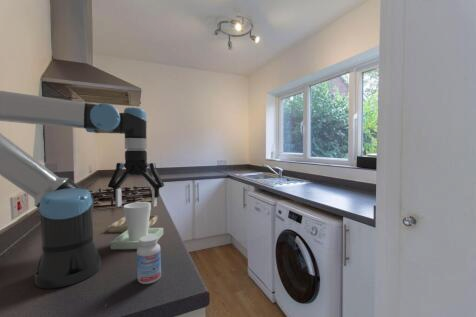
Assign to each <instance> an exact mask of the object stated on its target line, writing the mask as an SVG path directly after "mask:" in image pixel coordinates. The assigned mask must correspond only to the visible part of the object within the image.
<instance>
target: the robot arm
mask: <svg viewBox="0 0 476 317" xmlns="http://www.w3.org/2000/svg"><path fill="white" fill-rule="evenodd" d="M0 122H7V123H20V124H30V125H40V126H41V125H42V126H51V127H52V126H53V127H62V128H63V127H65V128H74V129H85V131H86V132H87V133H94V134H120V135H121V134H124V149H125V151H124V162H117V163H116V164H115V165H116V167H115V170H114V172H113V174H112V176H111V179H110V180H109V182H108V185H107V187H108V188H111V189H113V198H115V207H116V208H117V207H118V208H119V207H121V206H122V205H123V202H122V201H123V200H122V198H123V197H122V196H123V195H122V187H121V186H122V185H123V184H124V182H125V181H126V180H127V178H129V176H130V175H131V176H133V175H136V176H140V175H141V176H143V178H144V179H145V180H146V181H147V182H148V184H150V185H151V186H152V188H153V189H151V208H154V207H157V205H158V200H157V199H158V198H159V197H160V189H161V188H163V187H165V184H164V181H163V179H162V177H161V175H160V173H159V172H158V170H157V167H156V163H155V162H151V163H150V162H149V163H148V162H147V160H148V159H147V158H148V155H147V154H148V153H147V149H148V148H147V143H148V142H147V140H148V139H147V122H148V121H147V112H146V110H145V109H143V108H140V107H129V106H128V107H125V108H124V109H123V112H119V110H118V109H117V108H116V107H115V106H114V105H112V104H110V103H98V104H97V103H90V102H89V103H88V102H82V101H78V100H77V101H76V100H69V99H63V98H62V99H61V98H55V97H47V96H41V95H40V96H39V95H34V94H27V93H20V92H12V91H7V90H6V91H5V90H0ZM124 168H125V169H126V170H125V171H124V172H123V174H122V175H121V173H122V171H123V169H124ZM147 168H148V169H149V170H150V172H151V174H152V176H151V175H150V172H149V171H148V170H147ZM120 175H121V176H120ZM0 176H1V177H2V178H4V179H5V180H7V181H8V182H10V183H11V184H13V185H14V186H16V187H17V188H18V189H20V190H22V191H23V192H24V193H26V194H27V195H28V196H30V197H32V198H33V199H34V206H35V207H36V208H38V212H39V216H40V218H39V219H40V233H41V234H40V235H41V249H42V250H41V255H40V259H39V262H38V265H37V267H36V271H35V274H34V284H35V286H36V287H37V288H40V289H47V290H49V289H59V288H63V287H67V286H72V285H74V284H77V283H80V282H82V281H85V280H86V279H88V278H90V277H92V276H93V275H94V274H95V275H96V274H97V272H98V271H99V270H101V267H102V258H101V255H100V253H99V251H98V249H97V246H96V244H95V242H94V228H93V226H94V225H93V209H94V207H95V206H94V205H95V200H94V197H93V195H92V193H91V192H90V191H89V190H88V189H86V188H85V187H82V186H80V185H78V184H77V183H75V182H74V181H73V180H72V179H70V178H69V177H60V176H58V175H57V174H55V173H54V172H52V171H51V170H50V169H48V168H47V167H45V165H43V164H42V163H40V162H39V161H38V160H37V159H35V158H34V157H33V156H31V155H30V154H29V153H27V152H26V151H25V150H24V149H22V148H21V147H19V146H18V145H17V144H15V143H14V142H13V141H11V140H10V139H9V138H7V137H6V136H5V135H4V134H2V133H1V132H0ZM120 187H121V188H120Z"/></svg>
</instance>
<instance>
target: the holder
mask: <svg viewBox="0 0 476 317" xmlns="http://www.w3.org/2000/svg"><path fill="white" fill-rule="evenodd" d="M158 221H159V215H158V214H156V215H155V214H153V215H152V214H150V218H149V228H152V226H153V225H154V224H155V223H156V222H158ZM125 223H126V219H125V216H123V217H121V218H120V219H118V220H117V221H115V222H112V224H110V225H108V226H107V232H108V233H124V232H125V231H126V230H127V225H123V224H125Z"/></svg>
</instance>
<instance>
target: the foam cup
mask: <svg viewBox="0 0 476 317" xmlns="http://www.w3.org/2000/svg"><path fill="white" fill-rule="evenodd" d="M151 210H152V202H149V201H137V202H130V203H126V204H124V205H123V213H124V217H125V219H126V222H125V223H126V224H125V225H126V226H127V230H128V235H129V240H130V241H139V239H140V238H141V237H143V236H146V235H148V228H149V218H150V215H151Z"/></svg>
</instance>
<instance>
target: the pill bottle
mask: <svg viewBox="0 0 476 317" xmlns="http://www.w3.org/2000/svg"><path fill="white" fill-rule="evenodd" d="M158 241H159V239H158V237H157V236H156V235H146V236H143V237H141V238H140V239H139V244H140V247H139V248H138V249H136V270H137V271H136V274H137V275H136V278H137V279H136V280H137V281H138V282H139V283H140V284H142V285H149V284H153V283H156V282H157V281H159V280H160V279H161V277H162V262H161V261H162V258H161V257H162V253H161V252H162V251H161V245H160V244H159V243H158Z"/></svg>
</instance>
